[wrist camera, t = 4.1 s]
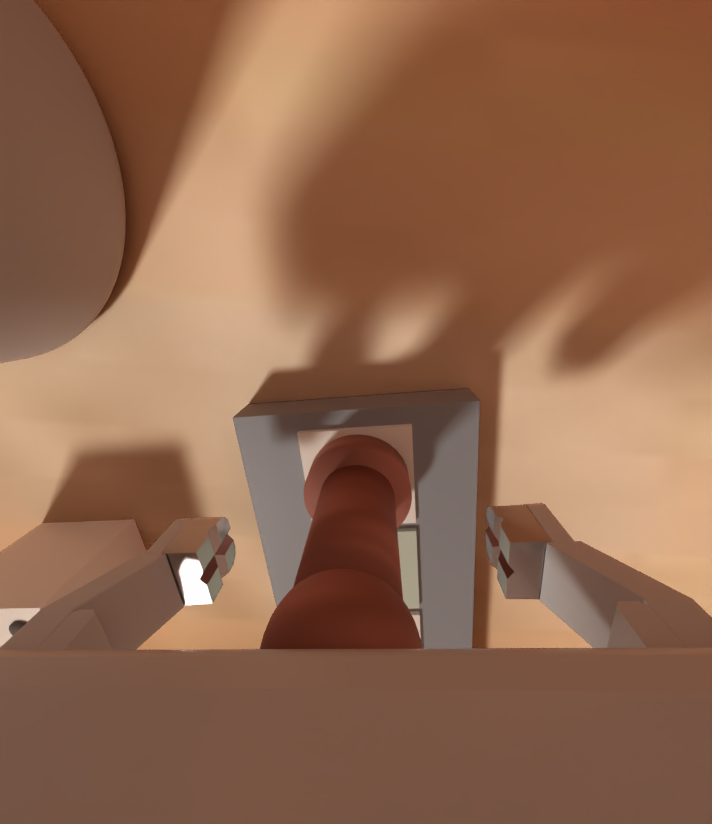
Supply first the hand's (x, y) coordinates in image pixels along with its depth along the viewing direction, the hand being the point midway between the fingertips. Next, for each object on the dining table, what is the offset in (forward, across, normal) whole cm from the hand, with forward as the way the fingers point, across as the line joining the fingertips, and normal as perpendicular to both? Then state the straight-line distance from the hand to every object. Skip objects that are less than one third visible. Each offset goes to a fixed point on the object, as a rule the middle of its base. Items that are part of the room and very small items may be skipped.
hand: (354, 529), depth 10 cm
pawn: (+3, 0, 0) cm, 3 cm away
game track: (+5, 0, -9) cm, 10 cm away
